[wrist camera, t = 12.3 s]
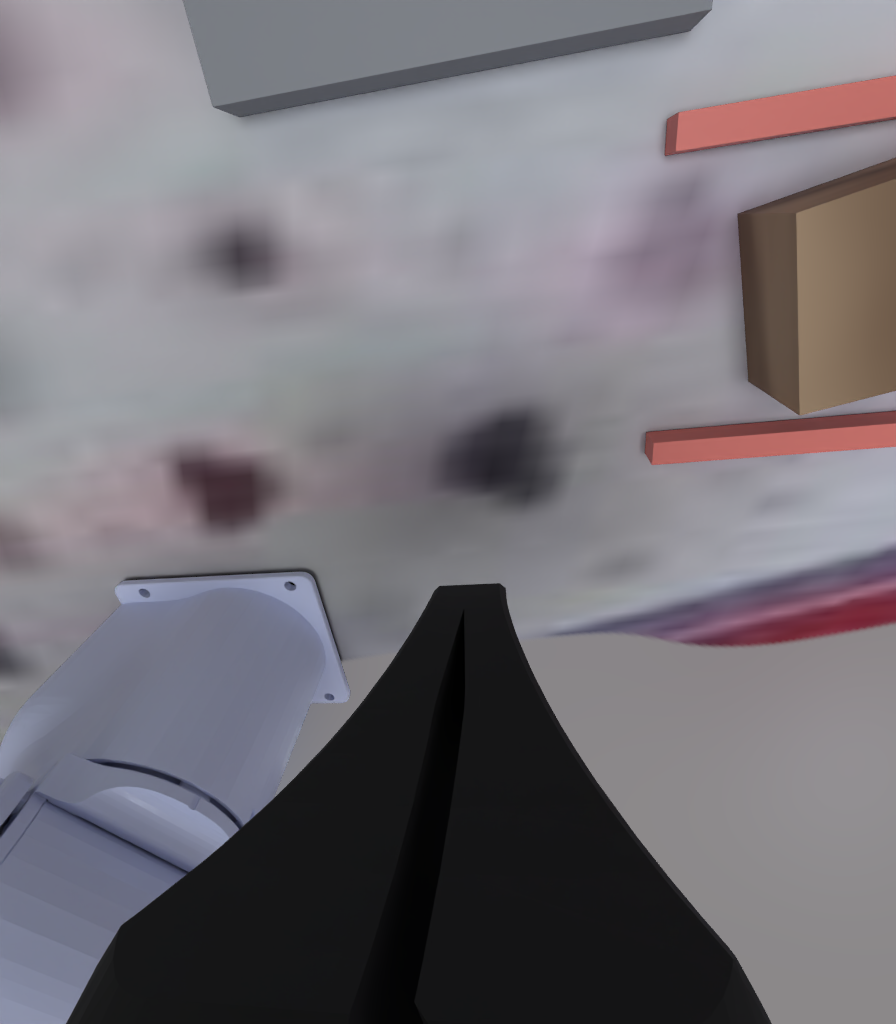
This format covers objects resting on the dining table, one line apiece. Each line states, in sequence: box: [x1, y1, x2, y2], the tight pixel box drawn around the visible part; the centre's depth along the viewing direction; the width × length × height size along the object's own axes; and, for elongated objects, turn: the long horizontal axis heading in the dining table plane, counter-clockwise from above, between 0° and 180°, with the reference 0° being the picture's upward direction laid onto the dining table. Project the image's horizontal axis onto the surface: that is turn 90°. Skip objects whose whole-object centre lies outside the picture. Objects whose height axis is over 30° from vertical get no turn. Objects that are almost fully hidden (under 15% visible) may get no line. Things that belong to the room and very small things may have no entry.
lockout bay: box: [645, 76, 896, 465], centre depth 15 cm, size 9×10×1 cm
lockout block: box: [738, 158, 896, 415], centre depth 13 cm, size 5×5×4 cm
